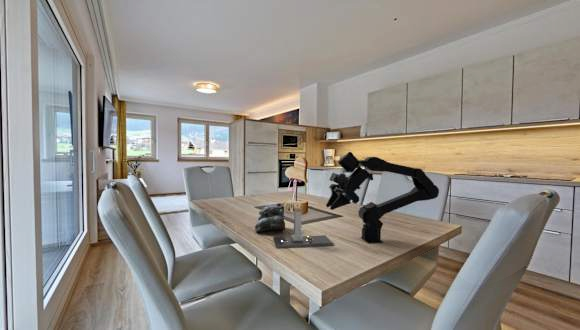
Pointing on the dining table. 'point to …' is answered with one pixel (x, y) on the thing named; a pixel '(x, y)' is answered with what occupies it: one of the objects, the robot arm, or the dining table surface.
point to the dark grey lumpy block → (271, 218)
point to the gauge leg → (297, 225)
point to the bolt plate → (308, 241)
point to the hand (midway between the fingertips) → (328, 207)
